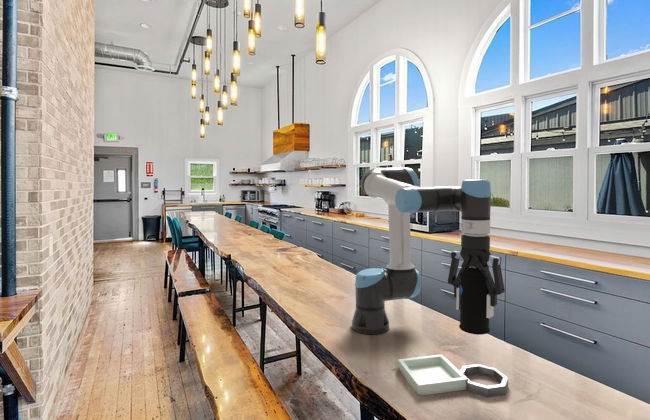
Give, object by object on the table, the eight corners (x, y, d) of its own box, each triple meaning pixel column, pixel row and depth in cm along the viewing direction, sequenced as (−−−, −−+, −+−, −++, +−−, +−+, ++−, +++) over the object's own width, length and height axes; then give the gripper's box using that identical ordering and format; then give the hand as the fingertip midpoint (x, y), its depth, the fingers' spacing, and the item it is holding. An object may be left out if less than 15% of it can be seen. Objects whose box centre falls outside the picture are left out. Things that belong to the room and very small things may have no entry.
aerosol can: (496, 330, 102) (497, 261, 101) (478, 337, 98) (479, 265, 96) (470, 321, 109) (471, 256, 108) (453, 327, 105) (453, 260, 103)
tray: (397, 368, 114) (397, 359, 113) (441, 363, 116) (441, 354, 116) (418, 395, 99) (418, 385, 99) (468, 389, 102) (468, 378, 101)
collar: (451, 375, 109) (451, 367, 109) (488, 370, 111) (488, 362, 111) (475, 399, 97) (475, 390, 97) (516, 393, 99) (517, 384, 99)
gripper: (435, 232, 107) (434, 306, 109) (508, 240, 91) (506, 327, 93) (448, 229, 112) (447, 300, 114) (520, 236, 96) (518, 319, 98)
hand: (474, 312), depth 103 cm, fingers closed on aerosol can, 8 cm apart
